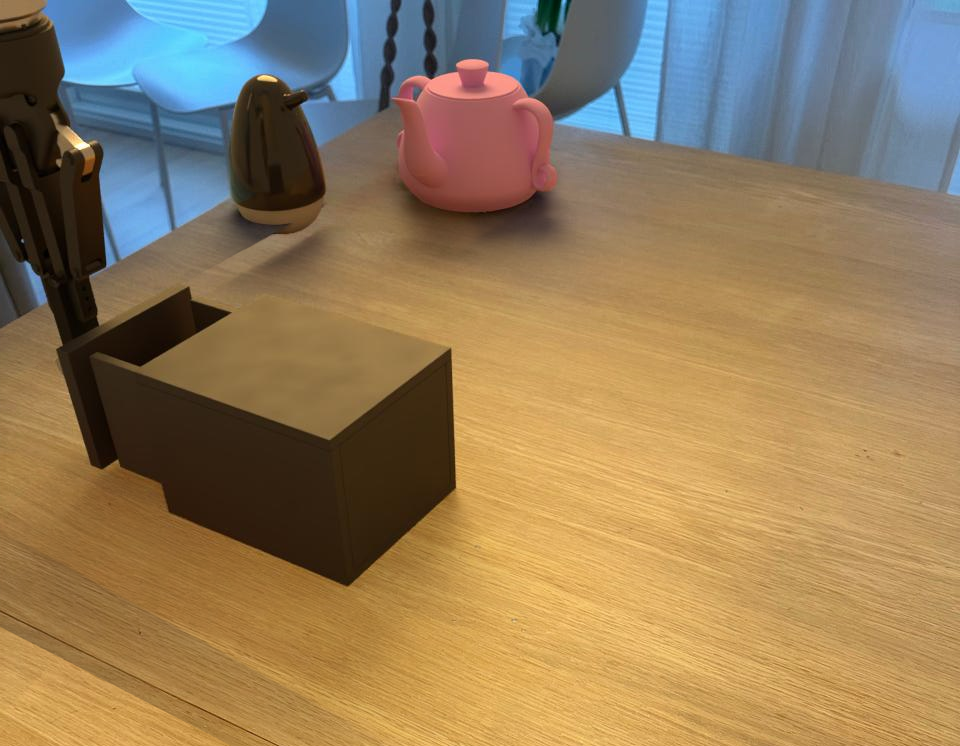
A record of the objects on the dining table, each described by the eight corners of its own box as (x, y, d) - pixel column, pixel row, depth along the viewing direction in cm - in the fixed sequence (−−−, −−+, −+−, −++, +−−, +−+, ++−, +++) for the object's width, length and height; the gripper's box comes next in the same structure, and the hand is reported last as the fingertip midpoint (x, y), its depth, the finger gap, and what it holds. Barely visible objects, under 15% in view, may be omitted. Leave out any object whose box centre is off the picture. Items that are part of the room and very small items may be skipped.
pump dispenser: (292, 252, 114) (271, 96, 104) (217, 232, 118) (190, 80, 108) (350, 219, 120) (336, 69, 110) (277, 201, 125) (257, 55, 114)
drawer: (51, 449, 85) (13, 334, 79) (163, 380, 93) (137, 270, 86) (244, 528, 77) (220, 407, 71) (349, 446, 85) (337, 330, 78)
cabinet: (168, 512, 80) (132, 371, 73) (285, 427, 89) (265, 292, 81) (347, 587, 74) (329, 440, 66) (456, 488, 82) (451, 347, 74)
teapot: (327, 210, 122) (312, 76, 113) (443, 153, 135) (438, 29, 126) (486, 255, 113) (485, 114, 103) (595, 189, 126) (602, 58, 116)
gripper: (105, 17, 70) (180, 354, 86) (-29, -6, 75) (65, 316, 91) (12, 45, 65) (109, 396, 81) (-125, 19, 70) (-8, 354, 86)
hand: (86, 353), depth 86 cm, fingers closed
